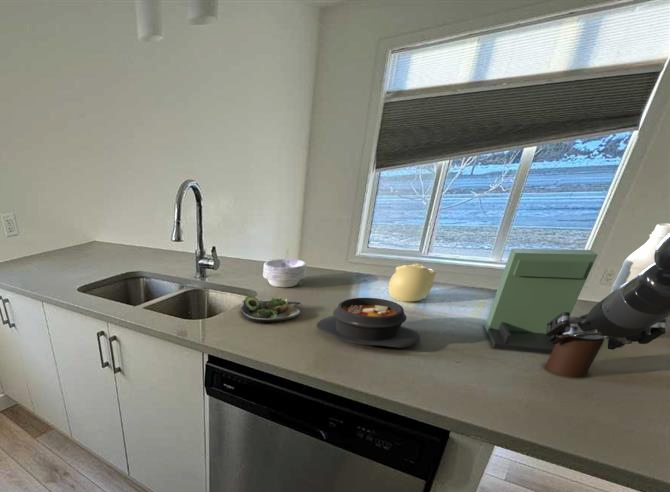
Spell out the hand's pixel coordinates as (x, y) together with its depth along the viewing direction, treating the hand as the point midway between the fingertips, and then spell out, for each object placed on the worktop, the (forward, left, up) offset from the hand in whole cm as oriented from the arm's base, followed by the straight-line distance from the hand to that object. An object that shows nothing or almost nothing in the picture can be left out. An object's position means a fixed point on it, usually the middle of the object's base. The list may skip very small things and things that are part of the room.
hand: (580, 342), depth 81 cm
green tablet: (-8, -14, -7) cm, 17 cm away
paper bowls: (+14, -84, -7) cm, 85 cm away
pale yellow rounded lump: (-9, -50, -7) cm, 51 cm away
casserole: (+22, -33, -7) cm, 40 cm away
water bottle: (-27, -8, -7) cm, 28 cm away
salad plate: (+35, -60, -7) cm, 70 cm away
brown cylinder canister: (-1, -1, -7) cm, 7 cm away
